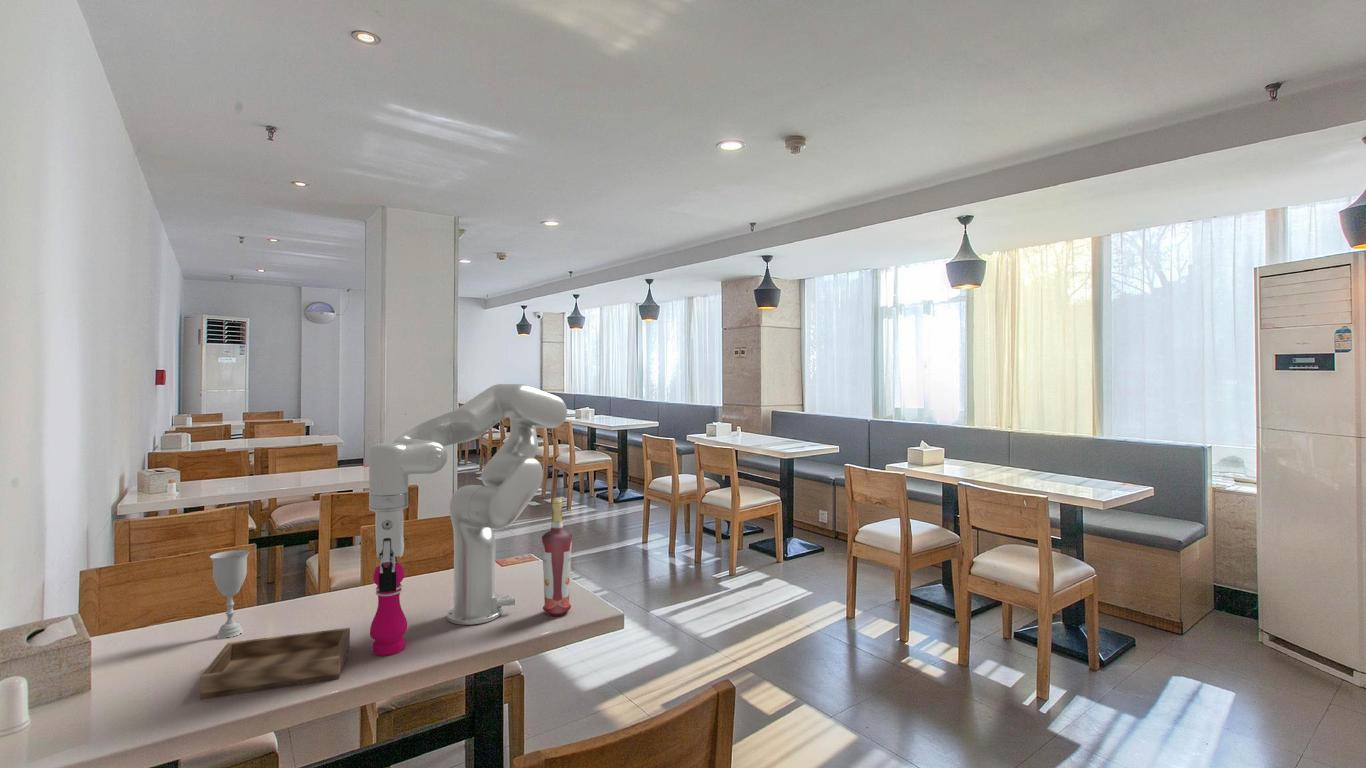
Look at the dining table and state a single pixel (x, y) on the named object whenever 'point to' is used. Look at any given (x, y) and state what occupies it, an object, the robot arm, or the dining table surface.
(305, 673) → the serving tray
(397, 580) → the pepper mill
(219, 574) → the chalice
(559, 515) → the liquor
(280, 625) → the dining table surface
